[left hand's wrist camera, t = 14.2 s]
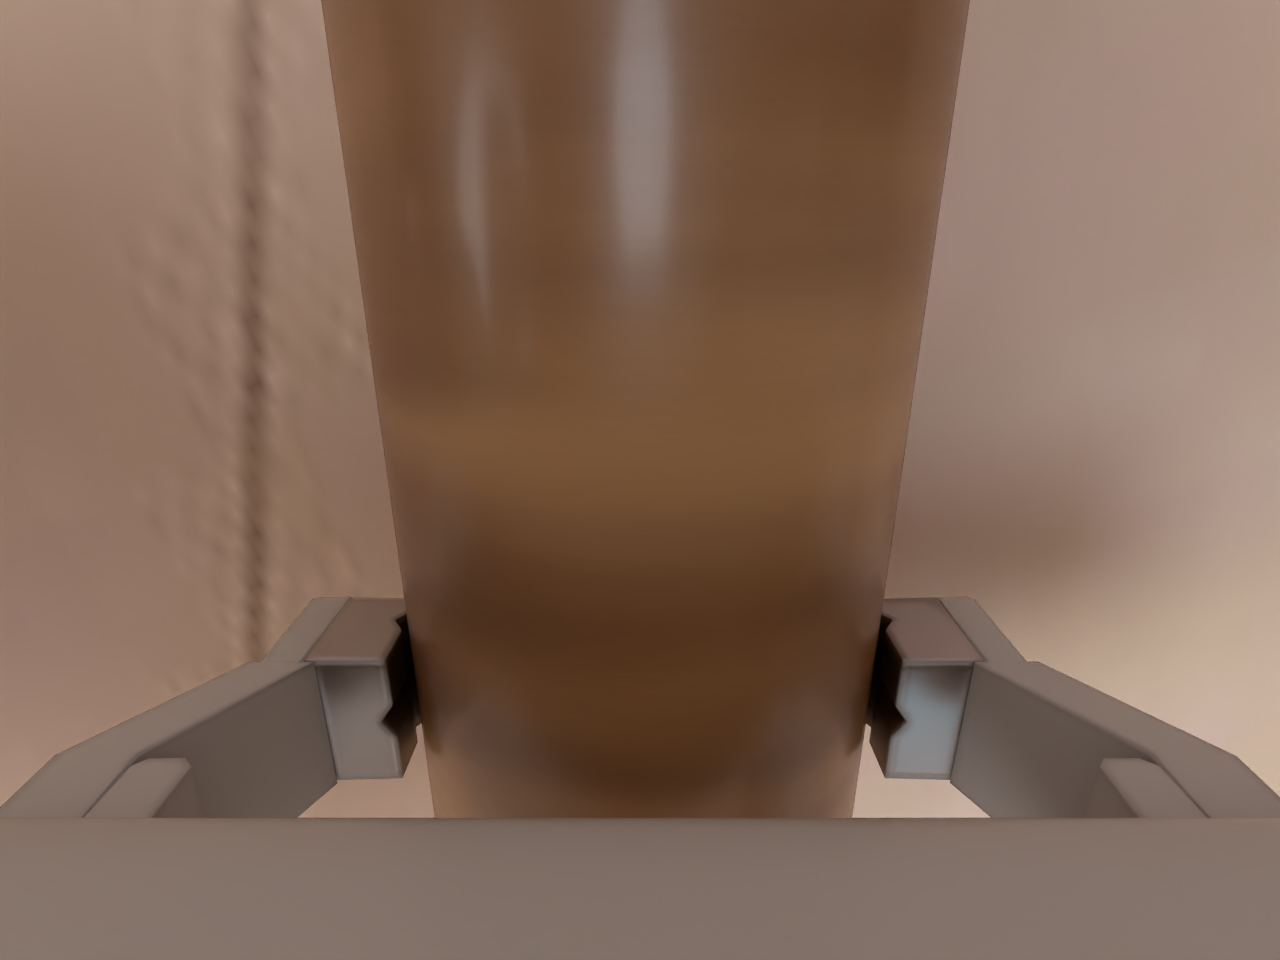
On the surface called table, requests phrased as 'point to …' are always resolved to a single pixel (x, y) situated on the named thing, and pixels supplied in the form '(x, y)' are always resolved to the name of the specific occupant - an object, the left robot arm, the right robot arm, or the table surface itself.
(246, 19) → the table surface
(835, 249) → the rod
